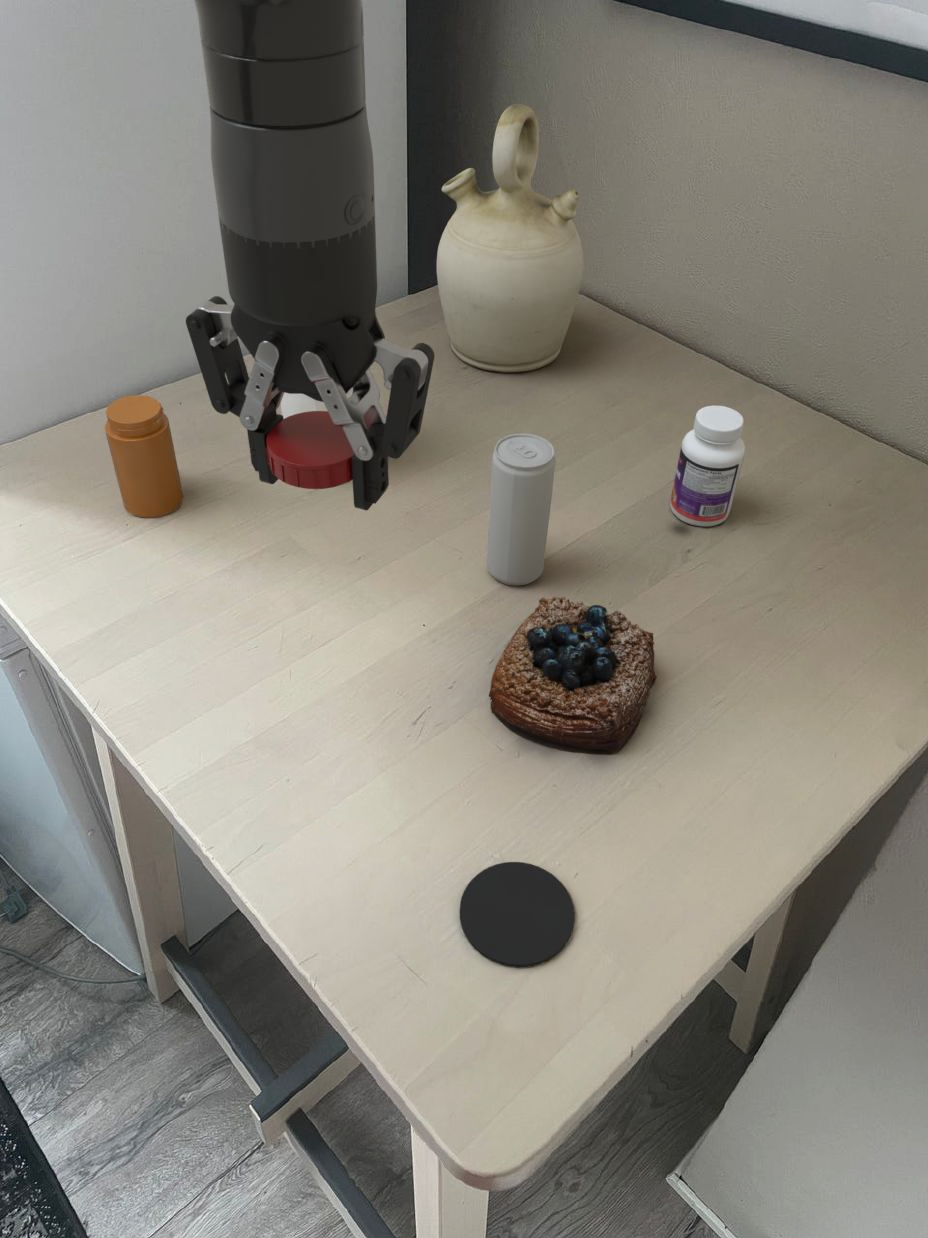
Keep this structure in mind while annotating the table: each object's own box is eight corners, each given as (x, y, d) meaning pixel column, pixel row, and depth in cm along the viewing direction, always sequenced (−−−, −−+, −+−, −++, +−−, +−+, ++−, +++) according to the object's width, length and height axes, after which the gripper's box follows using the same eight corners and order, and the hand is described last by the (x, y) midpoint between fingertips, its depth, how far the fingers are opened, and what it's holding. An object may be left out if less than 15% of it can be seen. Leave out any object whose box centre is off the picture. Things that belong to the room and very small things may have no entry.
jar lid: (304, 423, 63) (302, 400, 61) (387, 450, 61) (386, 427, 60) (247, 471, 59) (244, 447, 58) (334, 501, 57) (332, 477, 56)
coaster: (550, 986, 59) (551, 983, 59) (440, 940, 61) (440, 937, 61) (589, 889, 64) (590, 886, 64) (486, 849, 66) (486, 846, 66)
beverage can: (517, 544, 89) (526, 425, 80) (555, 573, 86) (569, 453, 78) (474, 566, 86) (479, 446, 78) (512, 597, 84) (522, 475, 75)
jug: (406, 348, 113) (404, 105, 96) (495, 301, 122) (507, 70, 105) (516, 398, 106) (534, 146, 89) (601, 344, 115) (633, 105, 98)
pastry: (666, 661, 79) (679, 604, 75) (620, 774, 71) (632, 717, 67) (532, 619, 82) (538, 562, 78) (473, 723, 74) (476, 666, 70)
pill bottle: (682, 485, 96) (702, 393, 89) (737, 504, 94) (761, 412, 87) (659, 515, 92) (678, 422, 86) (716, 535, 90) (739, 442, 84)
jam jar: (175, 519, 90) (156, 427, 83) (116, 516, 90) (92, 424, 83) (189, 484, 94) (172, 393, 87) (132, 481, 94) (111, 390, 87)
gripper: (464, 202, 50) (456, 484, 62) (211, 154, 54) (248, 429, 65) (398, 262, 45) (403, 558, 57) (124, 204, 49) (181, 493, 60)
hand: (320, 487), depth 61 cm, fingers closed on jar lid, 5 cm apart
